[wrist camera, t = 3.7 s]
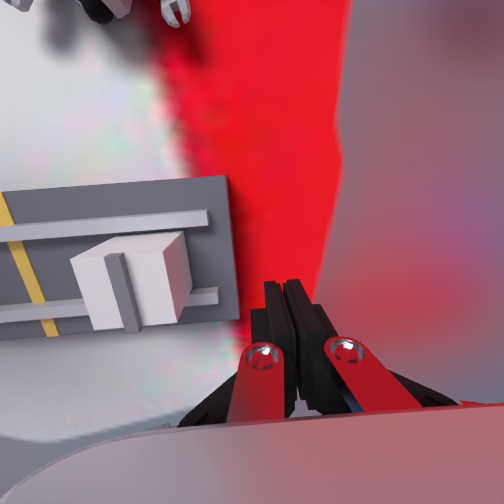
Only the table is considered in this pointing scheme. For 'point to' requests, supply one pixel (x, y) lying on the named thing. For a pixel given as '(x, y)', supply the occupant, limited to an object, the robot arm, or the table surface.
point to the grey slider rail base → (100, 230)
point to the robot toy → (118, 9)
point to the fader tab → (135, 280)
